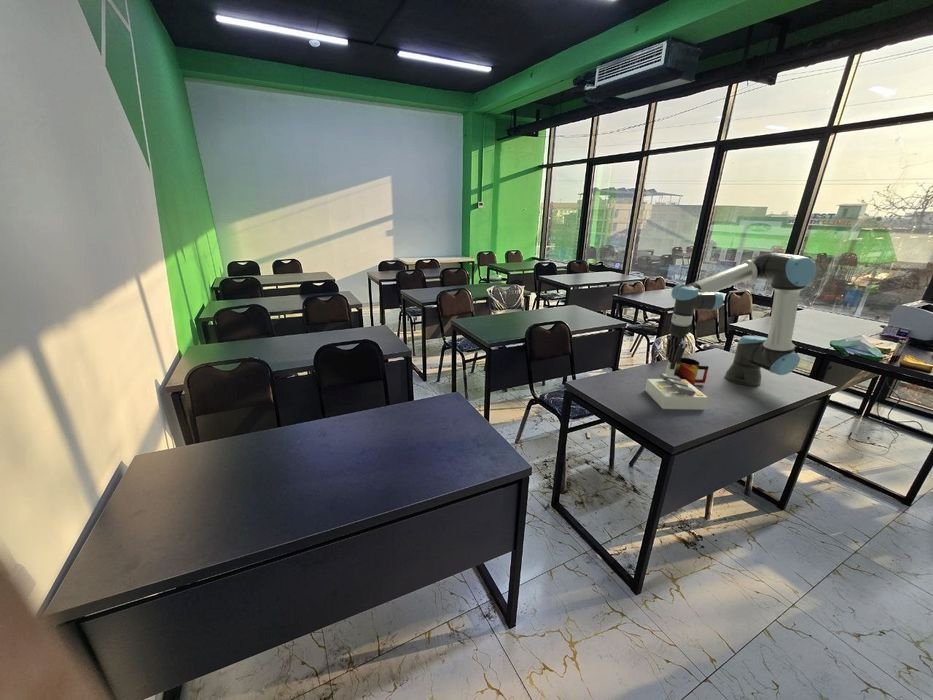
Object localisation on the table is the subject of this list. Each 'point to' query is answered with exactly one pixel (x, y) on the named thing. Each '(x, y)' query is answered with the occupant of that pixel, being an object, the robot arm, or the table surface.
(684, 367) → the mug
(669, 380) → the block
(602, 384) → the table surface
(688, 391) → the block
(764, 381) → the table surface
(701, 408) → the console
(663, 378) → the block
